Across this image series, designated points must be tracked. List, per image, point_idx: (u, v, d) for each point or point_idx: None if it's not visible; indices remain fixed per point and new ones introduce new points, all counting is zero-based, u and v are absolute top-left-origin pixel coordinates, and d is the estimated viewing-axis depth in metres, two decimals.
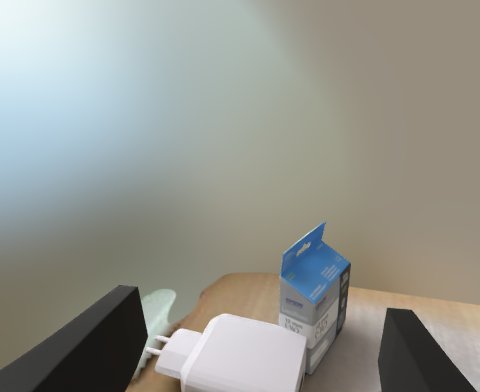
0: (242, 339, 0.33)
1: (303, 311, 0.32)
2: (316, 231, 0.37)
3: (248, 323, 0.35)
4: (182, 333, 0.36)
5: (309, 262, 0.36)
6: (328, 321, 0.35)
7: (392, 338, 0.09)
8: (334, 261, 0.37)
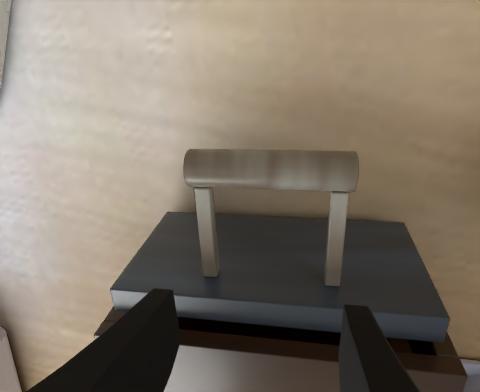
0: None
1: None
2: None
3: None
4: None
5: None
6: None
7: (346, 334, 0.09)
8: None
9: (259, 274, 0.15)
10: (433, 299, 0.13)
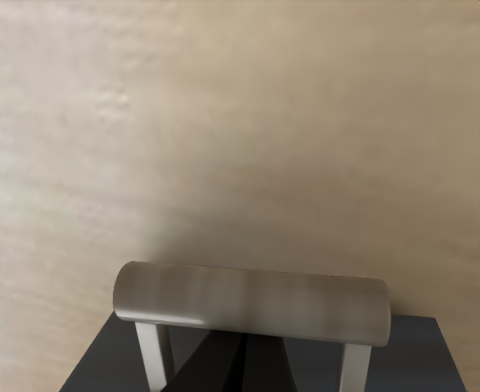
0: None
1: None
2: None
3: None
4: None
5: None
6: None
7: None
8: None
9: None
10: None
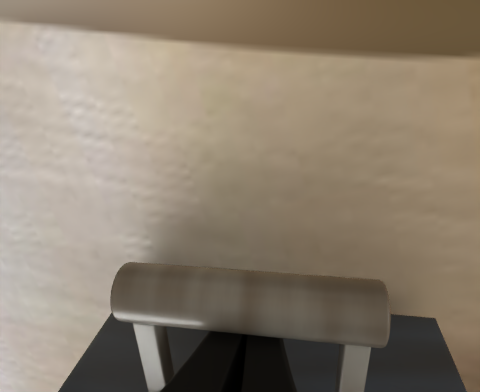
0: None
1: None
2: None
3: None
4: None
5: None
6: None
7: None
8: None
9: None
10: None
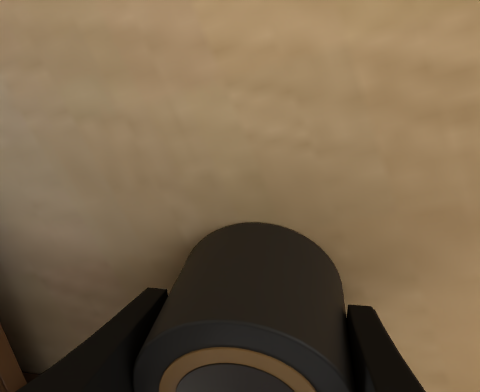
0: None
1: None
2: None
3: None
4: None
5: None
6: None
7: (350, 334, 0.09)
8: None
9: None
10: None
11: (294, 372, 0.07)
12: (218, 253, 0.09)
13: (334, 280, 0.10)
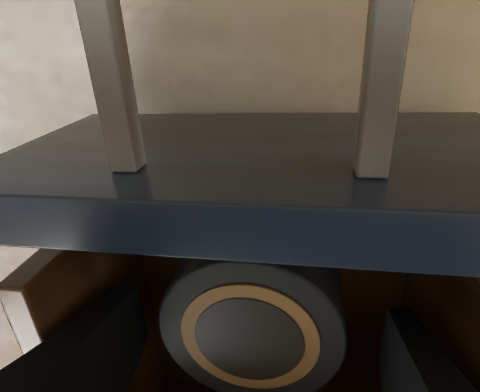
0: None
1: None
2: None
3: None
4: None
5: None
6: None
7: (392, 338, 0.09)
8: None
9: (222, 168, 0.08)
10: None
11: (295, 304, 0.09)
12: None
13: None
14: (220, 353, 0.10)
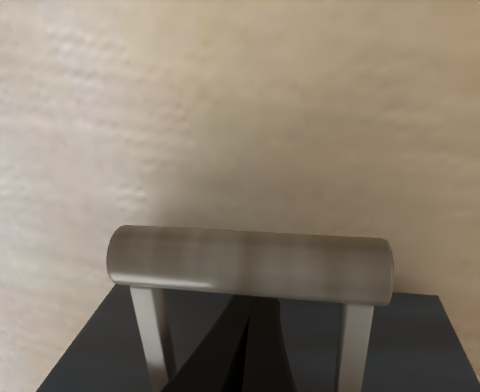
0: None
1: None
2: None
3: None
4: None
5: None
6: None
7: None
8: None
9: None
10: None
11: None
12: None
13: None
14: None
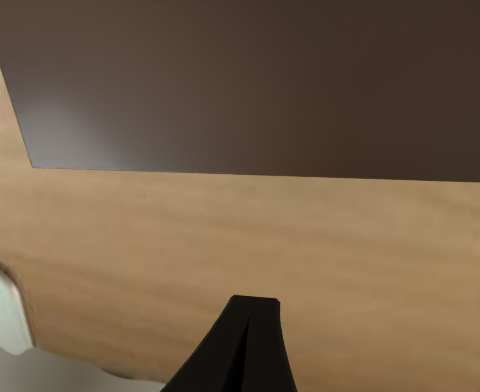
0: None
1: None
2: None
3: None
4: None
5: None
6: None
7: None
8: None
9: None
10: None
11: None
12: None
13: None
14: None
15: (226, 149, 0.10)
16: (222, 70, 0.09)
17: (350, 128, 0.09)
